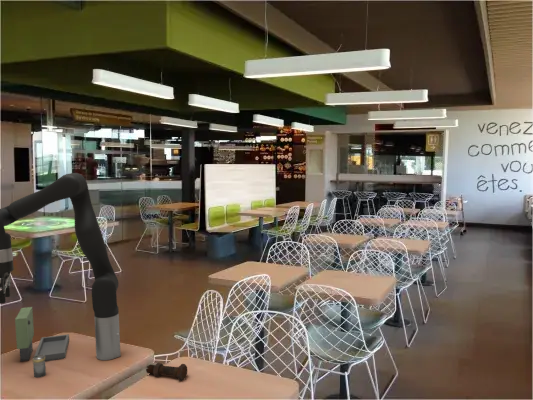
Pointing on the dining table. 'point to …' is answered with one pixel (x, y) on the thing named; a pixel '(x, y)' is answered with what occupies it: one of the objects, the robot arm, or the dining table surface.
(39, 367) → the pin
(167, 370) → the bolt
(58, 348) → the parts tray
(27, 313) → the control unit
